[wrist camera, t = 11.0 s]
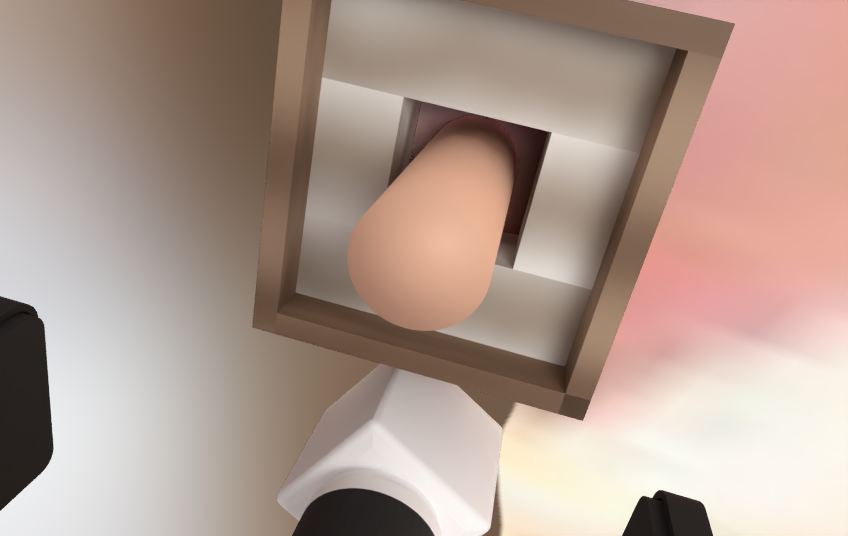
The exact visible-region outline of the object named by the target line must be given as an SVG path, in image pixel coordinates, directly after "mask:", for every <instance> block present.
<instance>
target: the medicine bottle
mask: <svg viewBox="0 0 848 536" xmlns="http://www.w3.org/2000/svg"><path fill="white" fill-rule="evenodd" d="M502 434H503V430H502V428H501V426H500V425H498V423H497V422H495V421H494V420H493V419H492V418H491V417H490V416H489V415H488V414H487V413H486V412H485V411H484V410H483V409H482V408H481V407H480V406H479V405H478V404H476V403H475V402H474V401H473V400H472V399H471V398H470V397H469V396H468V395H467V394H466V393H465V392H464V391H463V390H462V389H461V388H460V387H459V386H458V385H455V384H451V383H448V382H444V381H440V380H437V379H433V378H430V377H426V376H423V375H419V374H416V373H412V372H409V371H405V370H402V369H398V368H394V367H391V366H387V365H384V364H379V365H378V366H377V367H376V368H374V369H373V370H372V371H371V372H370V373H368V375H366V376H365V377H364V378H363V379H361V380H360V381H359V382H358V383H357V384H355V385H354V386H353V387H352V388H351V389H349V390H348V391H347V392H346V393H345V394H344V395H342V396H341V397H340V398H339V399H338V400H336V402H334V403H333V404H332V405H331V406H329V407H328V408H327V409H326V410H325V411H324V413H323V415H322V417H321V418H320V420H319V422H318V424H317V425H316V427H315V429H314V431H313V433H312V434H311V436H310V438H309V440H308V441H307V443H306V445H305V447H304V448H303V450H302V452H301V454H300V455H299V457H298V459H297V461H296V463H295V464H294V466H293V468H292V470H291V472H290V473H289V475H288V477H287V478H286V480H285V482H284V484H283V486H282V487H281V489H280V491H279V493H278V494H277V502H278V503H279V505H281V506H282V507H283V508H284V509H285V510H286V511H288V512H289V513H290V514H291V515H292V516H293V517H294V518H296V519H297V520H298V521H299V523H298V525H297V527H296V529H295V531H294V533H293V535H292V536H481V535H483V534H484V533H486V532H487V531H488V530H489V528H490V527H491V518H492V511H493V504H494V496H495V488H496V481H497V473H498V465H499V457H500V450H501V442H502Z"/></svg>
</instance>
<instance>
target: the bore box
mask: <svg viewBox="0 0 848 536" xmlns="http://www.w3.org/2000/svg"><path fill="white" fill-rule="evenodd" d="M734 25H735V24H734V23H730V22H725V21H721V20H716V19H711V18H707V17H702V16H697V15H693V14H688V13H684V12H679V11H674V10H670V9H665V8H661V7H656V6H651V5H647V4H642V3H637V2H633V1H628V0H283V2H282V12H281V24H280V34H279V45H278V56H277V67H276V77H275V89H274V99H273V110H272V120H271V132H270V142H269V154H268V164H267V175H266V186H265V197H264V208H263V218H262V229H261V239H260V250H259V261H258V272H257V283H256V294H255V304H254V315H253V316H254V317H253V326H252V327H253V328H257V329H260V330H264V331H267V332H271V333H274V334H278V335H282V336H285V337H288V338H292V339H295V340H299V341H303V342H306V343H310V344H313V345H317V346H321V347H324V348H327V349H331V350H334V351H338V352H342V353H345V354H349V355H352V356H356V357H359V358H363V359H367V360H370V361H373V362H377V363H380V364H384V365H387V366H391V367H394V368H398V369H402V370H405V371H409V372H412V373H416V374H419V375H423V376H426V377H430V378H433V379H437V380H440V381H444V382H448V383H451V384H455V385H458V386H462V387H465V388H469V389H473V390H476V391H480V392H483V393H487V394H490V395H493V396H497V397H501V398H504V399H508V400H511V401H515V402H518V403H522V404H525V405H529V406H532V407H536V408H539V409H543V410H546V411H550V412H554V413H557V414H561V415H564V416H568V417H571V418H575V419H578V420H582V421H583V419H584V417H585V414H586V412H587V409H588V406H589V404H590V401H591V398H592V396H593V393H594V391H595V388H596V385H597V383H598V380H599V378H600V375H601V372H602V370H603V367H604V364H605V362H606V359H607V357H608V354H609V351H610V349H611V346H612V344H613V341H614V338H615V336H616V333H617V331H618V328H619V325H620V323H621V320H622V317H623V315H624V312H625V310H626V307H627V304H628V302H629V299H630V297H631V294H632V291H633V289H634V286H635V283H636V281H637V278H638V276H639V273H640V270H641V268H642V265H643V263H644V260H645V257H646V255H647V252H648V249H649V247H650V244H651V242H652V239H653V236H654V234H655V231H656V229H657V226H658V223H659V221H660V218H661V216H662V213H663V210H664V208H665V205H666V202H667V200H668V197H669V195H670V192H671V189H672V187H673V184H674V182H675V179H676V176H677V174H678V171H679V168H680V166H681V163H682V161H683V158H684V155H685V153H686V150H687V148H688V145H689V142H690V140H691V137H692V134H693V132H694V129H695V127H696V124H697V121H698V119H699V116H700V114H701V111H702V108H703V106H704V103H705V101H706V98H707V95H708V93H709V90H710V87H711V85H712V82H713V80H714V77H715V74H716V72H717V69H718V67H719V64H720V61H721V59H722V56H723V53H724V51H725V48H726V46H727V43H728V40H729V38H730V35H731V33H732V30H733V27H734ZM421 101H423V102H427V103H431V104H436V105H440V106H444V107H448V108H452V109H457V110H461V111H465V112H469V113H473V114H477V115H482V116H486V117H490V118H494V119H498V120H502V121H507V122H511V123H515V124H519V125H523V126H528V127H532V128H536V129H540V130H544V131H548V133H547V136H546V140H545V144H544V147H543V151H542V154H541V158H540V161H539V165H538V168H537V172H536V175H535V179H534V182H533V186H532V190H531V193H530V197H529V200H528V204H527V207H526V211H525V214H524V218H523V221H522V225H521V228H520V232H519V235H516V234H513V233H509V232H505V231H503V232H502V236H501V240H500V244H499V248H498V252H497V257H496V261H495V265H494V269H493V273H492V277H491V281H490V285H489V288H488V291H487V294H486V295H485V297H484V299H483V301H482V302H481V304H480V305H479V307H478V308H477V309H476V310H475V311H474V312H473V313H472V314H471V315H470V316H468V317H467V318H466V319H464V320H463V321H461V322H459V323H458V324H455V325H453V326H450V327H448V328H444V329H440V330H433V331H419V330H411V329H407V328H403V327H400V326H397V325H395V324H393V323H390V322H388V321H387V320H385V319H383V318H382V317H380V316H379V315H377V314H376V313H375V312H374V311H372V310H371V309H370V308H369V307H368V306H367V305H366V304H365V302H364V301H363V300H362V299H361V297H360V296H359V294H358V292H357V291H356V289H355V287H354V285H353V283H352V280H351V277H350V274H349V269H348V262H347V252H348V245H349V240H350V237H351V234H352V232H353V230H354V228H355V226H356V224H357V223H358V221H359V220H360V219H361V218H362V216H363V215H364V214H365V213H366V212H367V211H368V210H369V208H370V207H371V206H372V205H373V204H374V203H375V202H376V201H377V200H378V198H379V197H380V196H381V195H382V194H383V193H384V192H385V191H386V189H387V188H388V187H389V186H390V185H391V184H392V183H393V182H394V181H395V179H396V178H397V177H398V176H399V175H400V174H401V173H402V172H403V171H404V169H405V168H406V167H407V166H408V165H409V162H410V156H411V151H412V146H413V141H414V136H415V130H416V125H417V120H418V115H419V110H420V104H421Z"/></svg>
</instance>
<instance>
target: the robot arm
mask: <svg viewBox="0 0 848 536" xmlns="http://www.w3.org/2000/svg"><path fill="white" fill-rule="evenodd" d="M50 410H51V409H50V397H49V384H48V370H47V356H46V343H45V330H44V324H43V321H42V320H41V319H40V318H38V315H37V311H36V310H35V309H34V307H32V306H30V305H28V304H24V303H21V302H18V301H14V300H10V299H7V298H4V297H1V296H0V510H2V509H3V508H4V507H5V506H6V505H7V504H8V503H9V502H10V501H11V500H12V499H14V498H15V497H16V496H17V495H18V494H19V493H20V492H21V491H22V490H23V489H24V488H25V487H26V486H28V484H30V483H31V482H32V481H33V480H34V479H35V478H36V477H37V476H38V475H39V474H41V473H42V471H43V470H44V469H45V468H46V466H47V465H48V464H49V462H50V459H51V457H52V453H53V436H52V423H51V411H50ZM622 536H713V534H712V530H711V527H710V523H709V520H708V516H707V513H706V510H705V507H704V505H703V504H702V503H701V502H700V501H697V500H693V499H690V498H687V497H683V496H680V495H676V494H673V493H669V492H666V491H663V490H659V491H657V492H656V493H655V495H654V496H653V498H649V497H646V496H642V497H641V498H640V500H639V501H638V503H637V505H636V507H635V509H634V512H633V514H632V516H631V518H630V520H629V522H628V524H627V526H626V529H625V531H624V533H623V535H622Z"/></svg>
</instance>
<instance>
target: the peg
mask: <svg viewBox="0 0 848 536" xmlns="http://www.w3.org/2000/svg"><path fill="white" fill-rule="evenodd" d="M517 169H518V153H517V149H516V146H515V143H514V141H513V139H512V138H511V136H510V135H509V133H508V132H507V131H506V130H505V129H504V128H503V127H502V126H501V125H499V124H498V123H496V122H495V121H493V120H490V119H488V118H485V117H480V116H465V117H461V118H457V119H455V120H453V121H451V122H449V123H448V124H446V125H445V126H444V127H443V128H442V129H440V130H439V132H438V133H437V134H436V135H435V136H434V137H433V138H432V139H431V140H430V142H429V143H428V144H427V145H426V146H425V147H424V148H423V149H422V151H421V152H420V153H419V154H418V155H417V156H416V157H415V158H414V159H413V161H412V162H411V163H410V164H409V165H408V166H407V167H406V168H405V169H404V171H403V172H402V173H401V174H400V175H399V176H398V177H397V178H396V179H395V181H394V182H393V183H392V184H391V185H390V186H389V187H388V188H387V189H386V191H385V192H384V193H383V194H382V195H381V196H380V197H379V198H378V200H377V201H376V202H375V203H374V204H373V205H372V206H371V207H370V208H369V210H368V211H367V212H366V213H365V214H364V215H363V216H362V218H361V219H360V220H359V221H358V223H357V224H356V226H355V228H354V230H353V232H352V234H351V237H350V240H349V245H348V252H347V262H348V269H349V274H350V277H351V280H352V283H353V285H354V287H355V289H356V291H357V292H358V294H359V296H360V297H361V299H362V300H363V301H364V302H365V304H366V305H367V306H368V307H369V308H370V309H371V310H372V311H374V312H375V313H376V314H377V315H379V316H380V317H382V318H383V319H385V320H387V321H388V322H390V323H393V324H395V325H397V326H400V327H403V328H407V329H411V330H419V331H433V330H440V329H444V328H448V327H450V326H453V325H455V324H458V323H459V322H461V321H463V320H464V319H466V318H467V317H468V316H470V315H471V314H472V313H473V312H474V311H475V310H476V309H477V308H478V307H479V305H480V304H481V302H482V301H483V299H484V297H485V295H486V294H487V291H488V288H489V285H490V281H491V277H492V273H493V269H494V265H495V261H496V257H497V252H498V248H499V244H500V240H501V236H502V232H503V228H504V223H505V219H506V215H507V211H508V207H509V203H510V199H511V194H512V190H513V186H514V182H515V178H516V174H517Z"/></svg>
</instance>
